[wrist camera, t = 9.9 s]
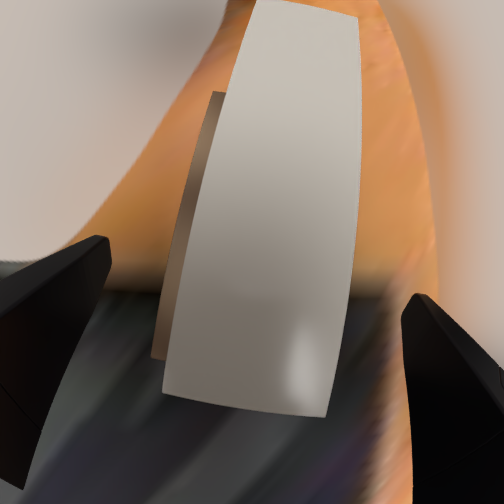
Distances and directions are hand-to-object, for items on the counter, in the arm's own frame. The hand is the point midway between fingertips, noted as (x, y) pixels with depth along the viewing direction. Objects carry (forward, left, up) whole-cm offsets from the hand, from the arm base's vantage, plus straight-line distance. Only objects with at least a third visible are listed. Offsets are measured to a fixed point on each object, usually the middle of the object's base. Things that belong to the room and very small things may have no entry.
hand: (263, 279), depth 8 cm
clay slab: (+3, 0, -8) cm, 9 cm away
